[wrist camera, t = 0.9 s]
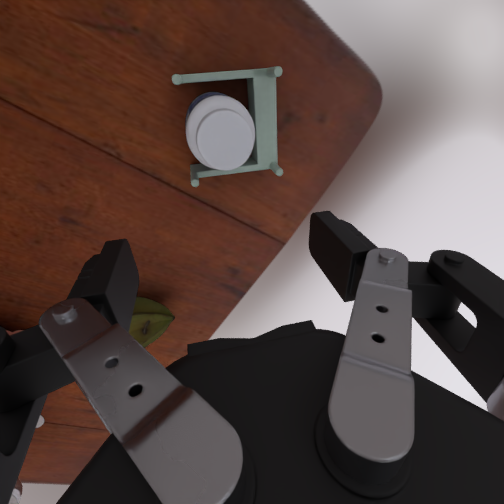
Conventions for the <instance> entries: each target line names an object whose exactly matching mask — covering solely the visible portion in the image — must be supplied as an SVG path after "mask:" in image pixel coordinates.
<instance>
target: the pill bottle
mask: <svg viewBox="0 0 504 504" xmlns="http://www.w3.org/2000/svg"><path fill="white" fill-rule="evenodd" d="M185 125H186V139H187V142H188V145H189V148H190V150H191V151H192V153H193V154H194V156H195V157H196V158H197V159H198V160H199V161H200V162H201V163H202V164H204V165H205V166H207V167H210V168H213V169H217V170H224V171H227V170H233V169H236V168H238V167H240V166H241V165H243V164H244V163H245V162H246V161H247V159H248V158H249V156H250V154H251V152H252V149H253V146H254V142H255V127H254V123H253V120H252V118H251V116H250V114H249V112H248V111H247V109H246V108H245V107H244V106H243V105H242V104H241V103H240V102H239V101H237V100H235V99H234V98H232V97H229V96H227V95H225V94H222V93H219V92H207V93H203V94H201V95H199V96H198V97H197V98H195V99H194V100H193V102H192V103H191V104H190V106H189V108H188V111H187V114H186V124H185Z"/></svg>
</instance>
